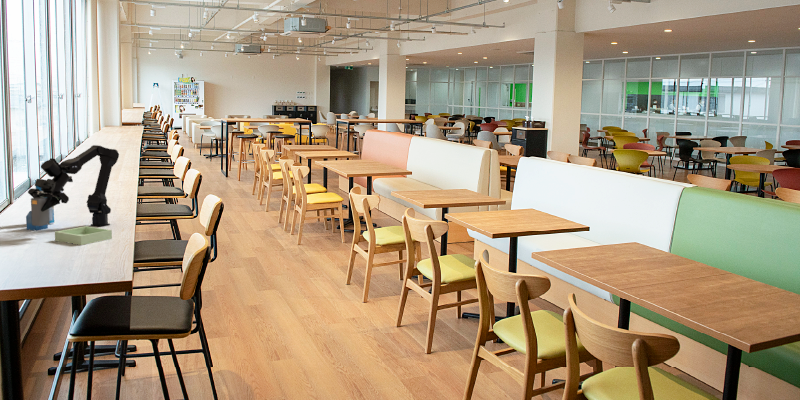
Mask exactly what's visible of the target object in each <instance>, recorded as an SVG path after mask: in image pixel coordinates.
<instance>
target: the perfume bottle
mask: <svg viewBox="0 0 800 400" xmlns="http://www.w3.org/2000/svg"><path fill="white" fill-rule="evenodd" d="M25 218H26V219H25V223H26V224H25V226H26V230H29V229H30V231H35V232H36V231H41V230H46V229H49V225H43V226H35V225H32V213H31V210H30V211H29V212H28V213H27V215H26V216H25Z"/></svg>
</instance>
